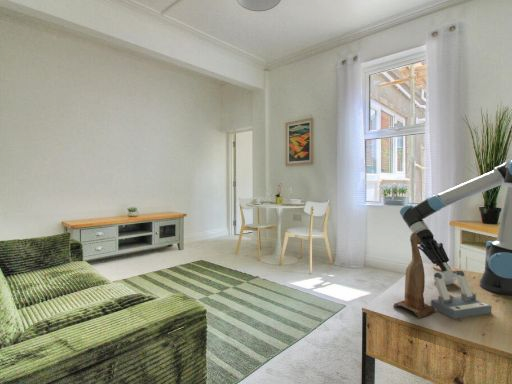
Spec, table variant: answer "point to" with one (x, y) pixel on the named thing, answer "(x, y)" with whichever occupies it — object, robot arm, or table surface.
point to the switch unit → (461, 306)
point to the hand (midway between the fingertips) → (451, 277)
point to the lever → (441, 287)
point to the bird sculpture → (415, 283)
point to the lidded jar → (447, 281)
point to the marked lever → (464, 284)
